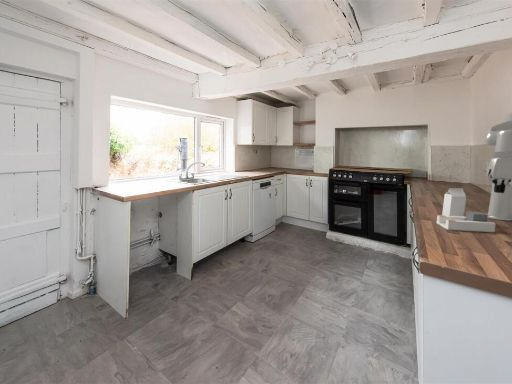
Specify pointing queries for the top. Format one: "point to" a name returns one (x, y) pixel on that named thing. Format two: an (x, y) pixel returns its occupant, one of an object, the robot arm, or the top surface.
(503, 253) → the top surface
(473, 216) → the block
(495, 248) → the top surface
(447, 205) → the milk carton
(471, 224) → the chute
